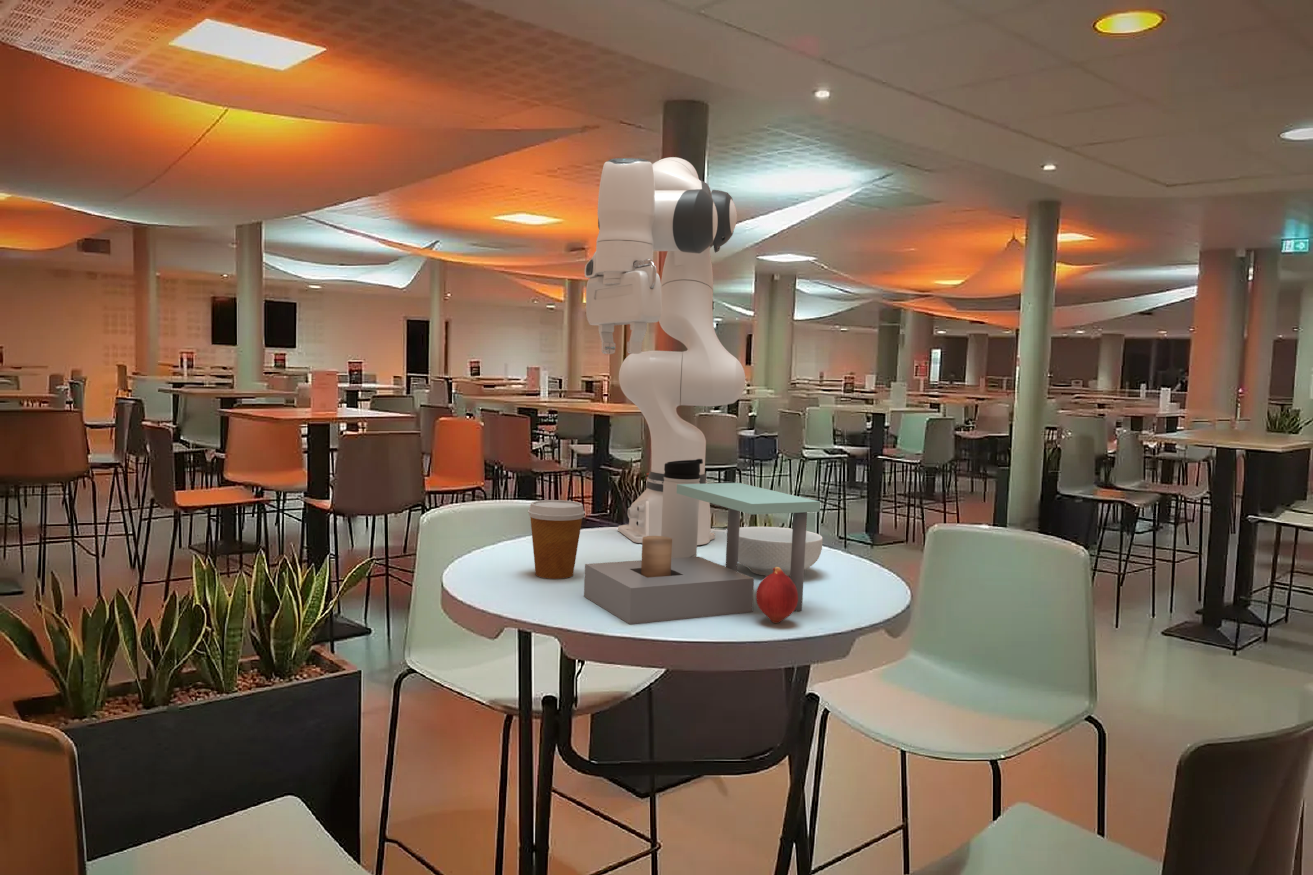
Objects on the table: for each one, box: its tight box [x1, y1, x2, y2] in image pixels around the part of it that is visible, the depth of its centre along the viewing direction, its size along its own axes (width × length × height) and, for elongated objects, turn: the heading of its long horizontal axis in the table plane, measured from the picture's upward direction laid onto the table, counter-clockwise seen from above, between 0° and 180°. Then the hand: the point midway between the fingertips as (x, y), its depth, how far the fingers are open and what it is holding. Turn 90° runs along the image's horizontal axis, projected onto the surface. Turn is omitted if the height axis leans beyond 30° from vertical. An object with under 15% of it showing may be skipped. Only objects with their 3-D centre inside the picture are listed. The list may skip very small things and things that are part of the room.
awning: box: [677, 482, 821, 612], centre depth 140 cm, size 22×12×16 cm, turn 27°
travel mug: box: [661, 459, 703, 558], centre depth 155 cm, size 6×7×20 cm
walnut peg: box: [641, 536, 672, 578], centre depth 133 cm, size 4×4×10 cm
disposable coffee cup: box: [527, 499, 586, 580], centre depth 150 cm, size 10×10×12 cm
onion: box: [755, 567, 798, 624], centre depth 126 cm, size 6×6×8 cm
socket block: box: [583, 556, 755, 625], centre depth 134 cm, size 16×20×5 cm
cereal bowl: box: [738, 526, 824, 577], centre depth 160 cm, size 17×17×7 cm
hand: (620, 353), depth 140 cm, fingers open, 8 cm apart
